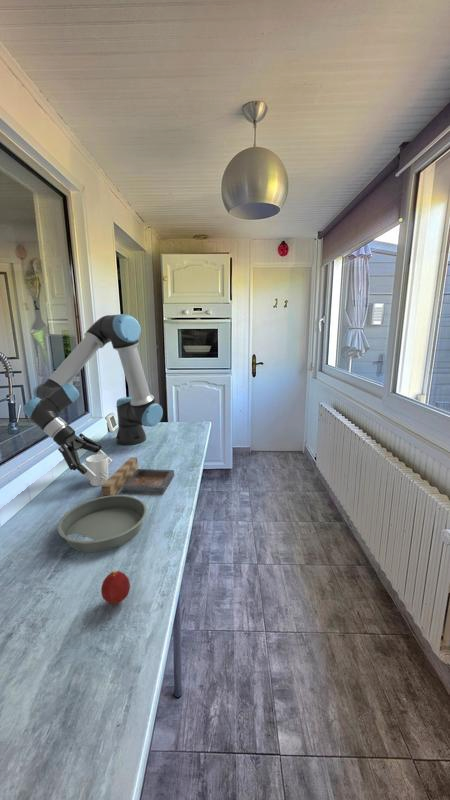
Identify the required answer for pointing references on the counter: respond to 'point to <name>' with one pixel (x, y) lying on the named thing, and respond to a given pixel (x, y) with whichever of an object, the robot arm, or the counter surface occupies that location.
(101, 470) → the white cup
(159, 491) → the square tray
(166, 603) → the counter surface
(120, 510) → the cake pan
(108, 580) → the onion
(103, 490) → the board
